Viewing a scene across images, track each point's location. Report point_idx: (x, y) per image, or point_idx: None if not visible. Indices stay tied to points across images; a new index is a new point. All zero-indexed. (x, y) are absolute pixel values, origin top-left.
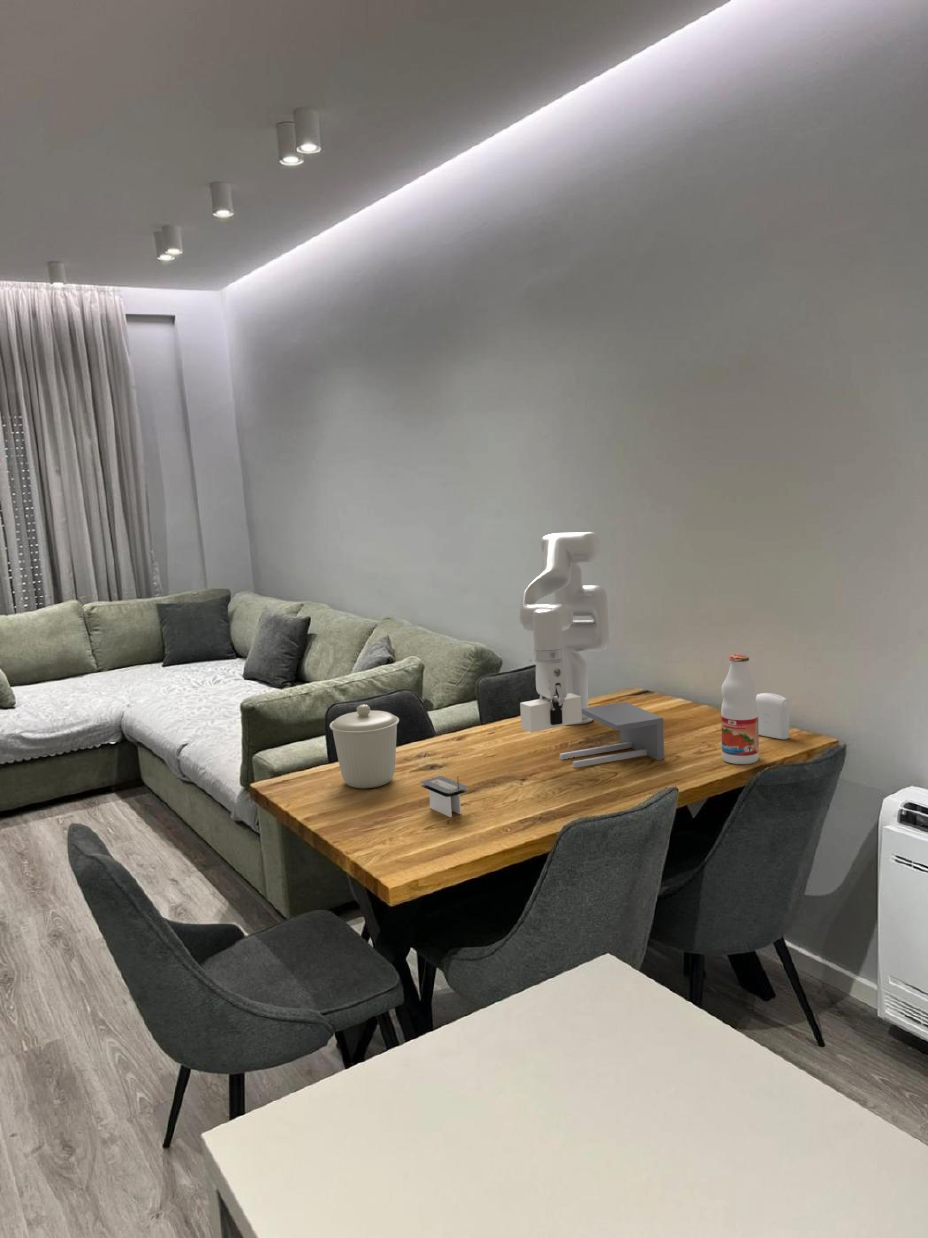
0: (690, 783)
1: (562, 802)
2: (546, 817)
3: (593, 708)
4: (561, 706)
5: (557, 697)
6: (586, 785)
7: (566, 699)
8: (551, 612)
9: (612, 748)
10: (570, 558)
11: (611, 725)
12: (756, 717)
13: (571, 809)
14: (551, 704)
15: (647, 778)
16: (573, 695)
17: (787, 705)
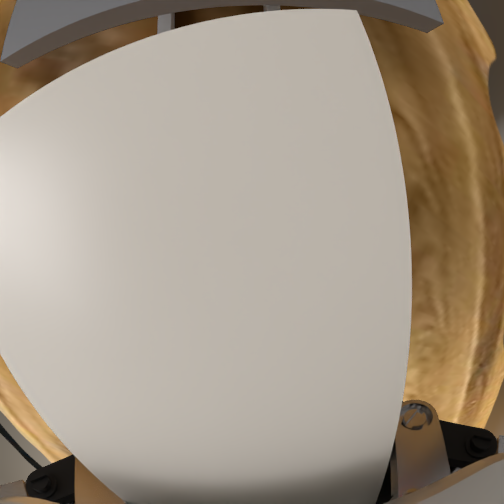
0: (481, 41)
1: (469, 322)
2: (485, 356)
3: (33, 1)
4: (459, 429)
5: (186, 483)
6: (436, 239)
7: (399, 410)
8: None
9: (173, 19)
10: None
11: (389, 12)
12: None
13: (493, 314)
14: (387, 498)
15: (448, 77)
16: (132, 139)
17: None
